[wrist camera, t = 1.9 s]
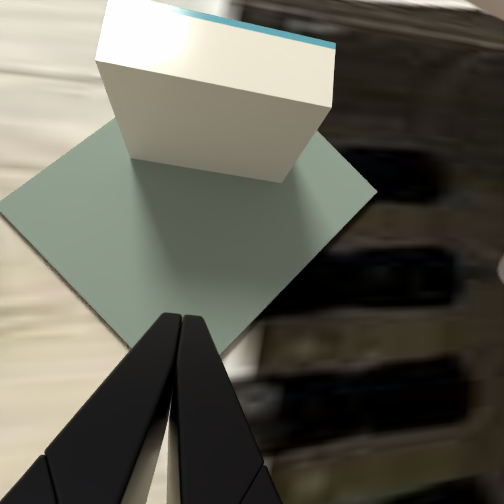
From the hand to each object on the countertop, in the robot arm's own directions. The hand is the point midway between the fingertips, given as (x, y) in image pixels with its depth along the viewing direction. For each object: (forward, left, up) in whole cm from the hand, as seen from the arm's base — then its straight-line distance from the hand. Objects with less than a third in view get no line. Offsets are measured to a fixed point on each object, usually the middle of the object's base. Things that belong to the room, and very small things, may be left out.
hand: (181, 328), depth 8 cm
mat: (+5, -6, -13) cm, 15 cm away
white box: (+7, -8, -12) cm, 16 cm away
